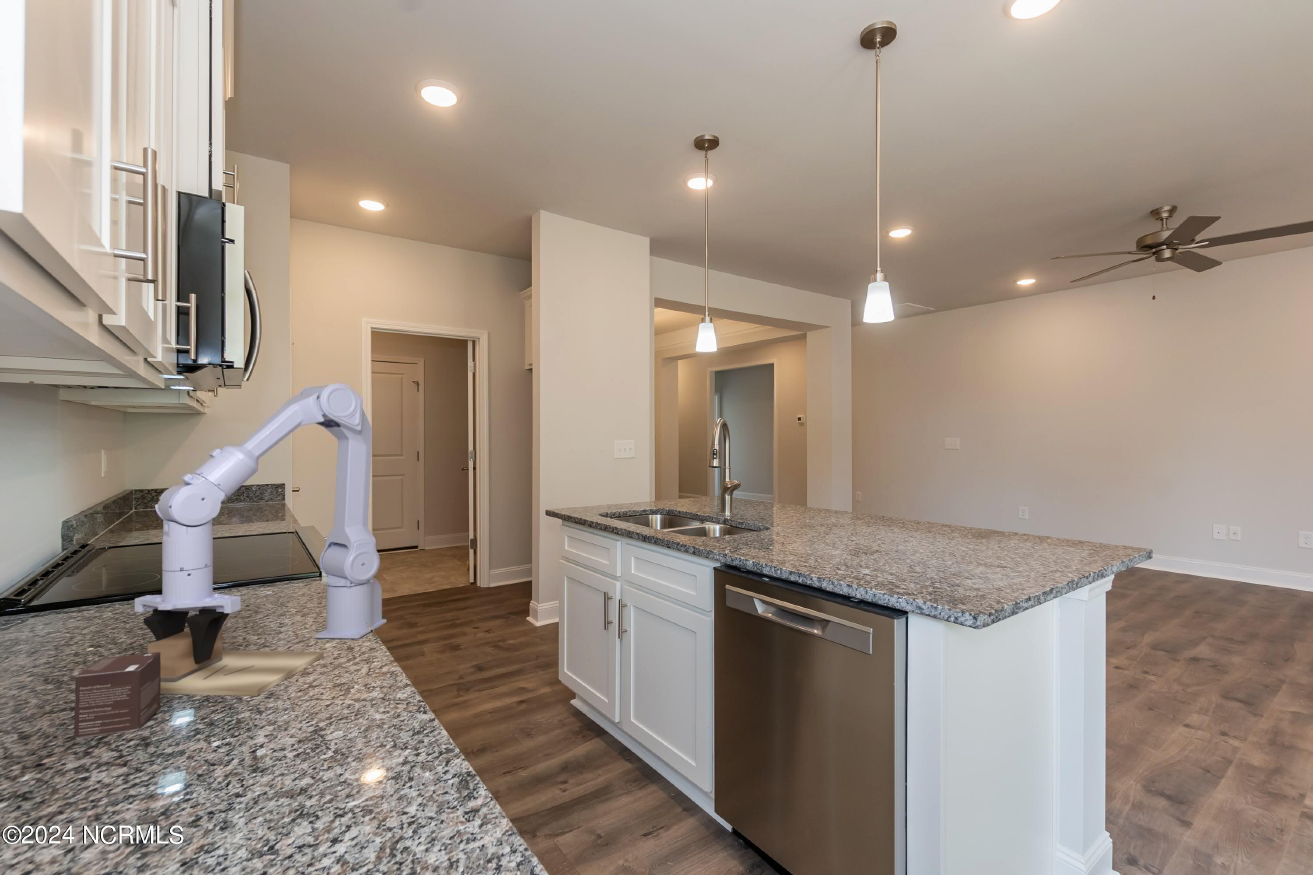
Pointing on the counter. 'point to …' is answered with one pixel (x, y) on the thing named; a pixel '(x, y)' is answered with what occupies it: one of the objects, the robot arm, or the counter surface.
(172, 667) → the sanding block
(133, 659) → the box
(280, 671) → the board
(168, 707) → the counter surface
